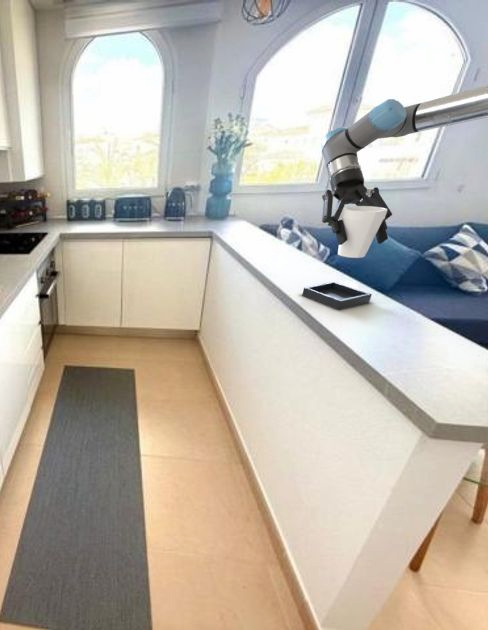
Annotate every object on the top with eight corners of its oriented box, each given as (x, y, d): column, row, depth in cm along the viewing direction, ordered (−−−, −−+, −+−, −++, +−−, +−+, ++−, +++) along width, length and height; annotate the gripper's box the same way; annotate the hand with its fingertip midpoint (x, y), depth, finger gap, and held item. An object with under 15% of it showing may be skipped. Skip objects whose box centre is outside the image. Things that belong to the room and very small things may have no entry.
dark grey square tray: (369, 302, 104) (372, 294, 102) (338, 309, 101) (340, 301, 100) (330, 289, 114) (333, 281, 113) (301, 295, 111) (303, 287, 110)
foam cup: (353, 249, 104) (367, 205, 99) (380, 257, 96) (397, 210, 90) (323, 251, 104) (335, 207, 98) (348, 260, 96) (362, 213, 90)
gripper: (377, 182, 104) (397, 247, 97) (299, 186, 107) (312, 249, 100) (396, 164, 97) (418, 232, 90) (311, 169, 100) (327, 236, 93)
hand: (362, 241), depth 95 cm, fingers closed on foam cup, 9 cm apart
